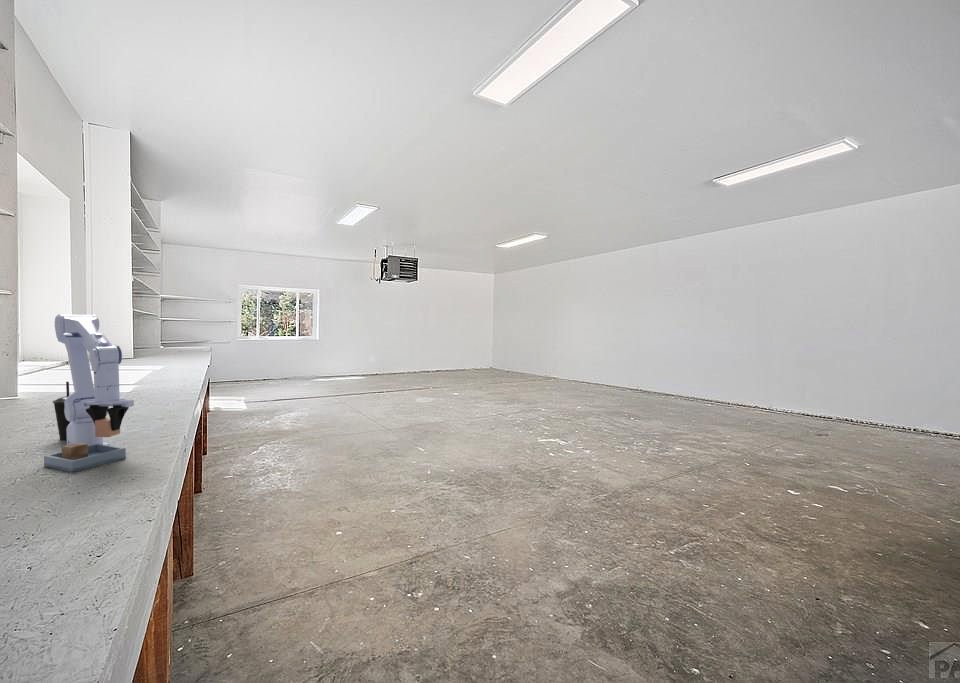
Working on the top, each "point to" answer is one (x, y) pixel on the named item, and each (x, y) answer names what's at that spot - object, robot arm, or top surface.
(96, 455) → the tray
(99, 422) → the terracotta block
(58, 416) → the drinking cup
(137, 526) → the top surface
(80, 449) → the tan block
